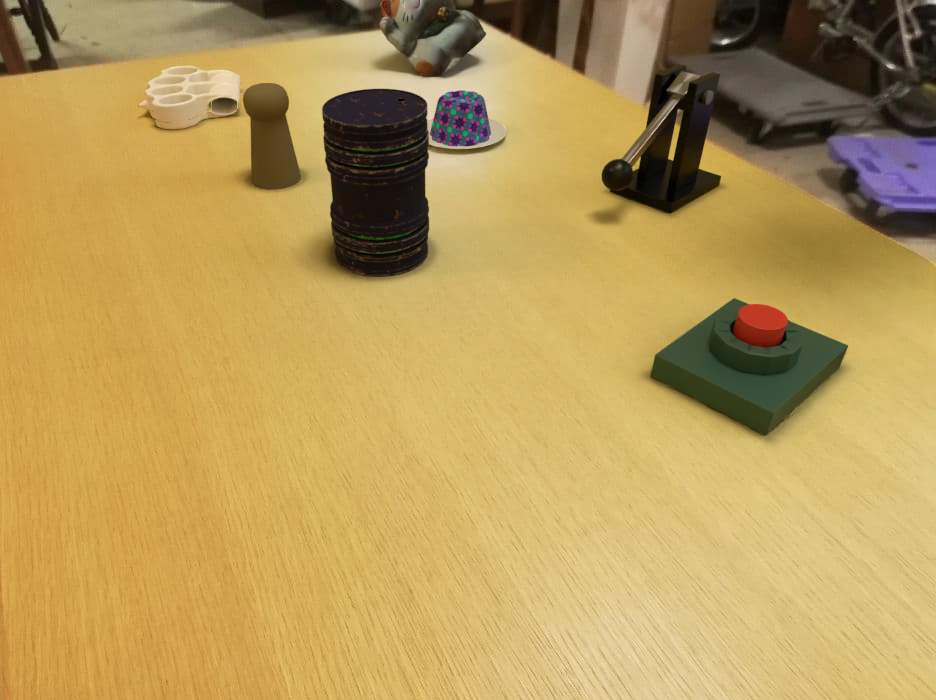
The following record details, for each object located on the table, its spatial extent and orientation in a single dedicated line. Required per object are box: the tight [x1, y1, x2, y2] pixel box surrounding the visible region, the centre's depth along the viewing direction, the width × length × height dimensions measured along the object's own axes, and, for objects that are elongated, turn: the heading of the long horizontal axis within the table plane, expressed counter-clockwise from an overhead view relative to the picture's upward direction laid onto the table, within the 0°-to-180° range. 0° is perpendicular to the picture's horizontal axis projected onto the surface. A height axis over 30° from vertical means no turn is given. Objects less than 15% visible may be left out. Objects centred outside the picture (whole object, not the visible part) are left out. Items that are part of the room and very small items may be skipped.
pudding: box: [427, 89, 507, 150], centre depth 103 cm, size 12×12×5 cm
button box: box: [650, 297, 849, 436], centre depth 63 cm, size 12×10×4 cm
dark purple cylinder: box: [321, 88, 430, 277], centre depth 76 cm, size 10×10×15 cm
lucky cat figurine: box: [379, 0, 487, 77], centre depth 125 cm, size 15×12×14 cm
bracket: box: [609, 63, 722, 214], centre depth 86 cm, size 10×8×13 cm
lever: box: [601, 71, 701, 191], centre depth 83 cm, size 15×3×3 cm
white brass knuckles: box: [137, 65, 242, 130], centre depth 115 cm, size 3×18×15 cm
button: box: [733, 303, 789, 348], centre depth 61 cm, size 4×4×2 cm
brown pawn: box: [242, 82, 302, 190], centre depth 92 cm, size 6×6×11 cm
